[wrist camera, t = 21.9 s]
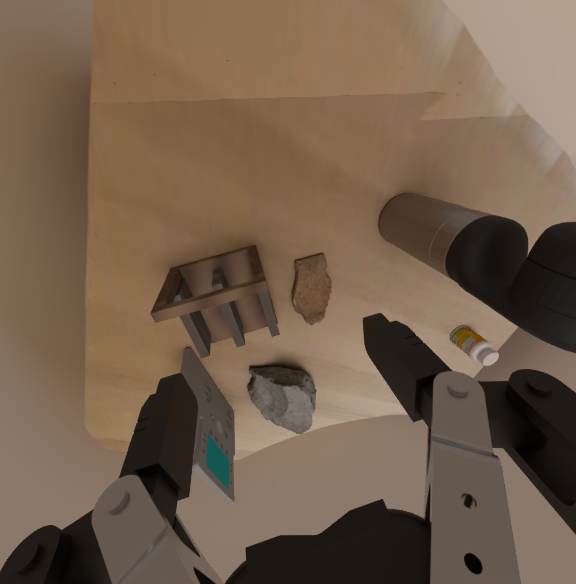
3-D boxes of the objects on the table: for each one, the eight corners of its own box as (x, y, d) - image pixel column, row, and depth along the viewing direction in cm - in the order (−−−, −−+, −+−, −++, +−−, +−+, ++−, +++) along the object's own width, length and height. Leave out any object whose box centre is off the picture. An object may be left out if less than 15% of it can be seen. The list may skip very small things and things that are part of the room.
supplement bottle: (472, 330, 69) (505, 355, 61) (456, 344, 71) (487, 371, 62) (462, 321, 67) (495, 346, 58) (445, 336, 68) (476, 363, 60)
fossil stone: (237, 369, 59) (242, 408, 50) (301, 345, 60) (316, 379, 52) (263, 420, 70) (271, 458, 61) (317, 399, 71) (332, 433, 62)
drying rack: (255, 245, 46) (266, 280, 34) (277, 320, 55) (291, 370, 43) (170, 268, 45) (150, 313, 33) (206, 341, 54) (200, 398, 42)
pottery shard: (332, 310, 58) (324, 250, 49) (336, 317, 56) (329, 256, 47) (296, 321, 58) (282, 263, 49) (299, 329, 55) (284, 270, 47)
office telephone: (178, 350, 53) (156, 446, 36) (190, 345, 54) (174, 439, 36) (224, 415, 65) (224, 510, 48) (234, 411, 66) (237, 505, 48)
